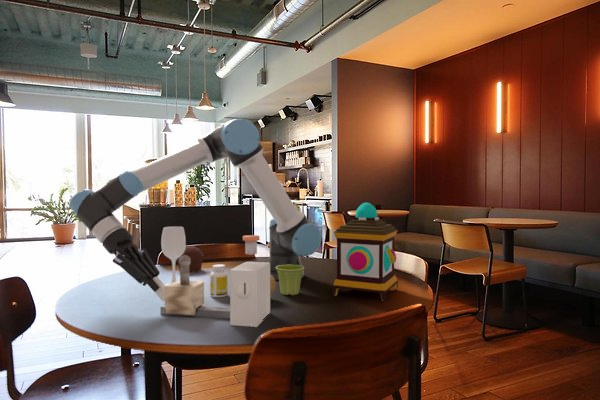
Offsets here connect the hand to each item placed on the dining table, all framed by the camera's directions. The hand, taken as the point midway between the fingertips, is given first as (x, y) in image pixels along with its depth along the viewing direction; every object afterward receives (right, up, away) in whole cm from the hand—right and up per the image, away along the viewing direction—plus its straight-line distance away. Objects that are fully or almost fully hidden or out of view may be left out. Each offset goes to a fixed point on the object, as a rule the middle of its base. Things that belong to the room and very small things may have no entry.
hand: (167, 297), depth 113 cm
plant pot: (+33, -4, +22) cm, 40 cm away
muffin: (-9, -3, +59) cm, 60 cm away
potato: (+23, -4, +12) cm, 26 cm away
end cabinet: (+24, -5, -5) cm, 25 cm away
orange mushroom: (+24, +12, -5) cm, 27 cm away
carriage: (+5, -3, -1) cm, 6 cm away
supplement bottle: (+11, -4, +19) cm, 22 cm away
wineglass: (-7, -4, +29) cm, 30 cm away
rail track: (+10, -4, -2) cm, 11 cm away
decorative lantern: (+59, -4, +23) cm, 63 cm away
